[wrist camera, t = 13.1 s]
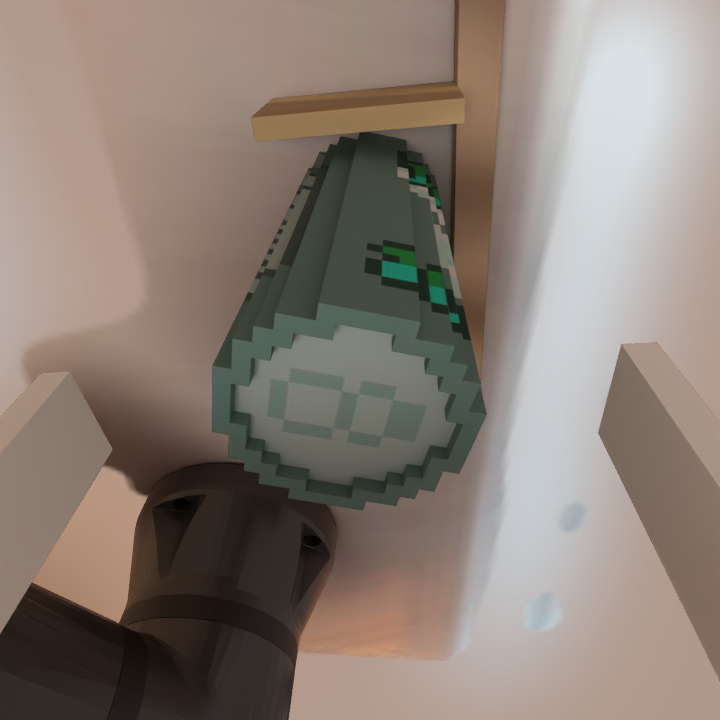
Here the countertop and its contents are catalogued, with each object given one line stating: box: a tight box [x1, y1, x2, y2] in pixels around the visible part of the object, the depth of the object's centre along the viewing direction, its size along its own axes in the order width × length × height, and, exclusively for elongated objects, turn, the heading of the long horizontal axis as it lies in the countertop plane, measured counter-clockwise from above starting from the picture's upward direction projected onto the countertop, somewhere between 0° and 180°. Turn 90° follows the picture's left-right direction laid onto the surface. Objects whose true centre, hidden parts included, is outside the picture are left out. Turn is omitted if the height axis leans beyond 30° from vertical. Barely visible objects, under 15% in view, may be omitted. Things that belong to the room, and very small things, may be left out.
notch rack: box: [251, 0, 505, 380], centre depth 22 cm, size 27×9×4 cm, turn 5°
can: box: [212, 132, 487, 510], centre depth 17 cm, size 6×6×15 cm
